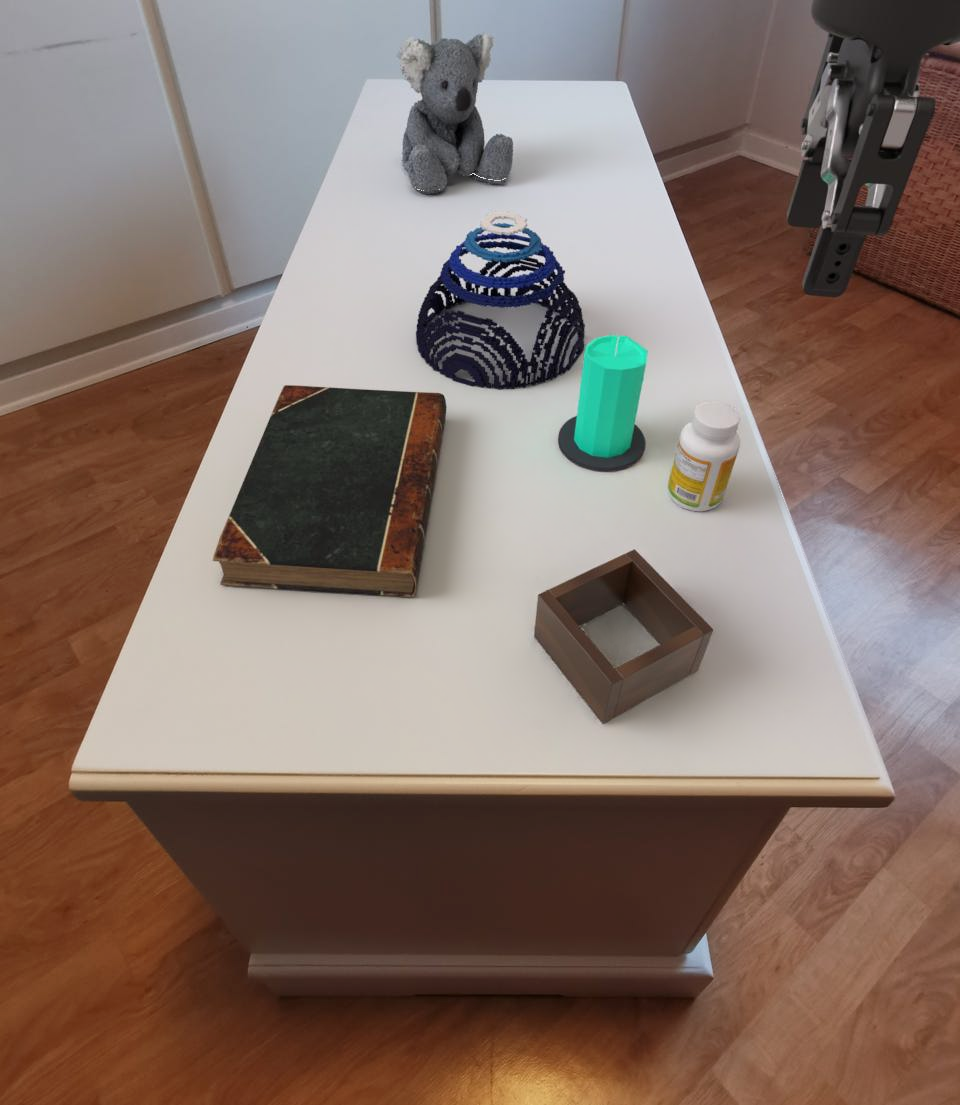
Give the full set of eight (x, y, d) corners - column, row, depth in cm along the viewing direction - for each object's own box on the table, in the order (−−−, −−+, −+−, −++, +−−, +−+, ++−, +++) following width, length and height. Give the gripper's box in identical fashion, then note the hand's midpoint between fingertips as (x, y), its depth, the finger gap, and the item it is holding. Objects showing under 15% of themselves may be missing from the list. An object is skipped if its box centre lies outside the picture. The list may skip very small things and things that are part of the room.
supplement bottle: (714, 474, 78) (738, 394, 70) (729, 511, 74) (756, 431, 67) (661, 476, 77) (680, 396, 70) (673, 514, 74) (695, 434, 67)
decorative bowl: (385, 360, 91) (374, 241, 80) (463, 283, 103) (461, 171, 92) (542, 407, 85) (552, 285, 74) (605, 319, 97) (621, 204, 86)
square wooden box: (625, 591, 67) (634, 548, 63) (698, 670, 62) (714, 629, 58) (533, 636, 64) (537, 594, 60) (602, 724, 58) (612, 684, 54)
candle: (598, 465, 77) (614, 363, 69) (561, 433, 81) (572, 332, 72) (643, 444, 80) (664, 342, 71) (606, 414, 83) (622, 313, 74)
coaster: (609, 407, 85) (610, 402, 84) (662, 453, 80) (663, 448, 79) (541, 433, 82) (541, 428, 81) (591, 483, 77) (592, 478, 76)
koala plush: (415, 201, 120) (407, 56, 105) (381, 158, 131) (370, 22, 116) (518, 184, 124) (524, 43, 110) (476, 144, 135) (477, 11, 121)
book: (289, 410, 84) (219, 586, 67) (282, 383, 82) (209, 558, 65) (447, 419, 83) (417, 598, 67) (447, 391, 81) (415, 571, 64)
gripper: (1081, -64, 28) (901, 327, 40) (979, -122, 38) (857, 209, 50) (870, -72, 29) (755, 314, 41) (821, -126, 39) (739, 200, 51)
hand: (811, 256), depth 46 cm, fingers open, 8 cm apart
